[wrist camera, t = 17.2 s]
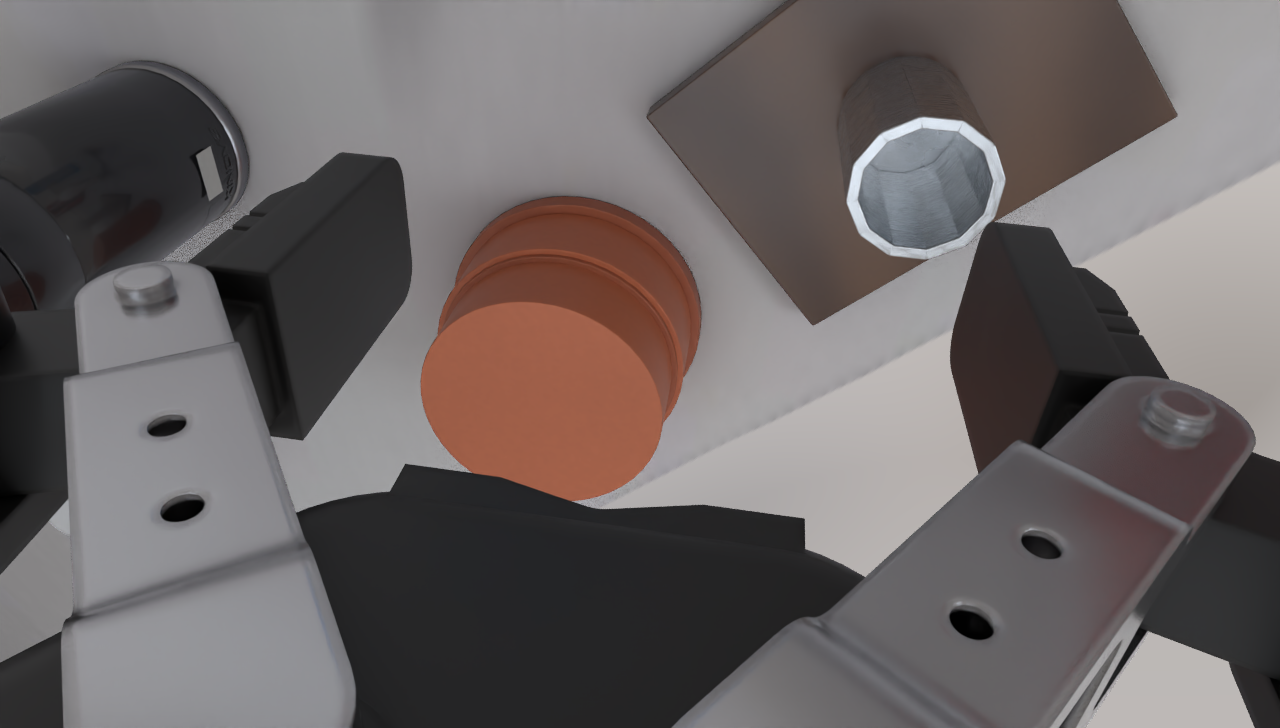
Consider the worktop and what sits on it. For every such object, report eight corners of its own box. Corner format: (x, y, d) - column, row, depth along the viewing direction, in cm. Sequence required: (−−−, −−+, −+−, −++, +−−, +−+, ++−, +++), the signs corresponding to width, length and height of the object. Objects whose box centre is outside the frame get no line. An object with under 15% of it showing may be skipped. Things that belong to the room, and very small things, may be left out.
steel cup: (828, 171, 45) (836, 250, 38) (850, 49, 42) (863, 110, 34) (949, 183, 44) (980, 266, 37) (981, 61, 41) (1023, 126, 34)
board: (812, 313, 51) (812, 326, 50) (649, 107, 46) (645, 117, 45) (1167, 106, 42) (1178, 116, 41) (1016, -179, 37) (1023, -177, 36)
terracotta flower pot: (466, 394, 58) (413, 497, 50) (451, 182, 50) (384, 264, 42) (690, 423, 57) (673, 533, 49) (713, 210, 49) (697, 300, 40)
